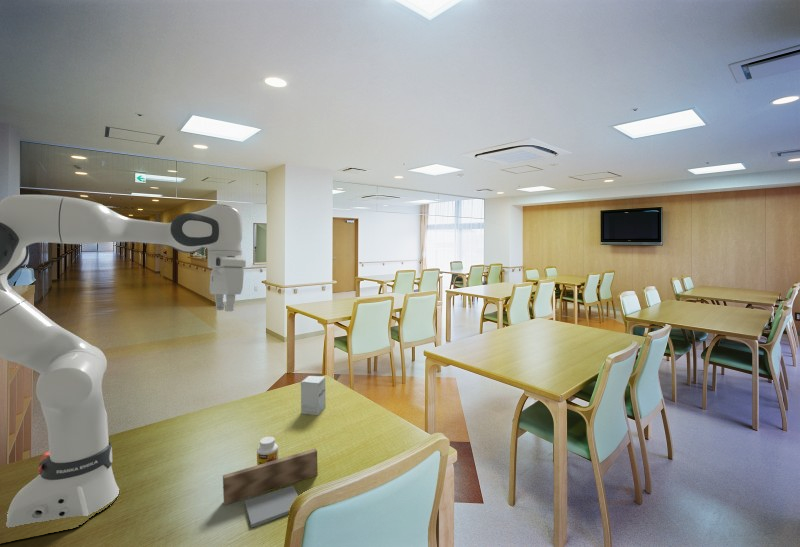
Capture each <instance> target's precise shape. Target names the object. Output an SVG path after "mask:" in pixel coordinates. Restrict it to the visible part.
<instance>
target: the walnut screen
mask: <svg viewBox="0 0 800 547" xmlns="http://www.w3.org/2000/svg"><path fill="white" fill-rule="evenodd" d="M318 468H319V467H318V450H317V449H316V448H312V449H308V450H306V451H302V452H299V453H296V454H292V455H289V456H285V457H282V458H278V459H277V460H274V461H271V462H267V463H264V464H260V465H254V466H250V467H247V468H244V469H243V468H242V469H240V470H236V471H233V472H230V473H227V474H223V475H222V490H223V505H224V506H227V505H229V504H232V503H235V502H239V501H241V500H244V499H247V498H251V497H254V496H256V495H260V494H263V493H266V492H268V491H273V490H275V489H278V488H281V487H284V486H287V485H291V484H294V483H297V482H299V481H302V480H305V479H309V478H312V477H314V476H318V472H319V471H318Z"/></svg>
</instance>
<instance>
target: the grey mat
mask: <svg viewBox="0 0 800 547" xmlns="http://www.w3.org/2000/svg"><path fill="white" fill-rule="evenodd" d="M297 496H299V494H298V493H297V490H296V489H295V486H294V485H290V486H286V487H284V488H281V489H278V490H275V491H272V492H271V491H270V492H269V493H265V494H262V495H258V496H257V497H253V498H250V499H247V500H245V501H244V505H245V509H246V513H247V516H248V520H249V523H250V528H255V527H257V526H259V525H262V524H265V523H268V522H270V521H273V520H276V519H279V518H282V517H284V516H286V515H289V514H288V513H289V509H290V506H291V504H292V502H293V501H294V499H295V498H296V497H297Z"/></svg>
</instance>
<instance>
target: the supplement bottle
mask: <svg viewBox="0 0 800 547" xmlns="http://www.w3.org/2000/svg"><path fill="white" fill-rule="evenodd" d="M275 441H276V439H275V437H273V436H264V437H263V438H260V440H259V445H258V447H257V449H256V464H257V465H260V464H264V463H267V462H271V461H274V460H277V459H279V447H278V444H277V443H276V442H275ZM257 465H256V466H257Z"/></svg>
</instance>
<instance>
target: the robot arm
mask: <svg viewBox="0 0 800 547" xmlns="http://www.w3.org/2000/svg"><path fill="white" fill-rule="evenodd" d="M242 240H243V221H242V216H241V213H240V212H239V210H237V209H236V208H235V207H233V206H230V205H227V204H219V203H215V204H212V205H211V206H208V207H207V208H204V209H201V210H198V211H197V210H196V211H194V212H187V213H184V212H183V213H181V214H179V215H177V216H175V218H174V219H173V220H172V221H171V222H160V221H151V220H145V219H135V218H130V217H127V216H124V215H122V214H121V213H120V214H119V213H118V212H117V211H114V210H112V209H110V207H107V206H106V205H103V204H102V203H98V202H95V201H93V200H92V201H91V200H87V199H83V198H77V197H71V196H63V195H62V196H61V195H50V194H13V195H9V196H6V197H4V198H3V199H1V201H0V358H1V359H3V360H5V361H7V362H12V363H16V364H19V365H21V366H24V367H26V368H28V369H30V370H33V371H35V372H36V373H39V376H38V378H37V382H36V386H35V394H36V397H37V400H38V402H39V404H40V408H41V411H42V415H43V417H44V421H45V424H46V429H47V430H46V431H47V437H48V438H47V439H48V451H46V452H44V453H43V454H42V457H41V458H40V461H39V463H38V468H37V474H38V475H37V476H36V477H35V478H33V479H32V480H31V481H29V482H28V483H27V484H25V486H23V487H22V488H20V490H19V491H18V492H17V493H16V494H15V496H14V497H13V499H12V500H11V503H10V504H9V506H8V511H7V513H8V514H7V522H6V526H7V527H8V528H9V527H15V526H19V525H24V524H30V523H35V522H42V521H43V522H44V521H49V520H55V519H60V518H66V517H75V516H88V515H90V514H92V513H93V512H96V511H98V510H99V509H101V508H103V507H104V506H106V505H107V504H109V503H110V502H112V501H113V500H114V499H115V498H116V497H117V496H118V494H119V490H120V488H119V486H118V484H117V481H116V479H115V476H114V472H113V467H112V464H113V447H112V443H111V441H110V439H109V426H108V413H107V410H106V407H105V401H104V396H103V389H102V385H103V378H104V374H105V372H106V371H107V367H108V360H107V358H106V355H105V354H104V352H103V351H102V350H101V349H100V348H98V347H97V346H94V345H93V344H90V343H89V342H87V341H86V340H84V339H82V338H81V337H80V336H77V335H76V334H74V333H72V332H71V331H69V330H67V329H66V328H63V327H62V326H60V325H59V324H58V323H56V322H55V321H54V320H52V319H50V317H48V316H47V315H45V314H44V313H43V312H42V311H40V310H39V309H38V308H37V307H35V306H34V305H33V304H32V303H30V301H28V300H27V299H25V298H24V297H23V296H21V295H20V294H19V293H18V292H16V291H15V290H14V289H13V288H12V287H11V286H10V285H9V283H8V281H9V280H11V279H12V278H13V277H14V275H15V274H16V273H17V272H18V270H20V268H22V267H23V265H24V264H25V262H27V259H28V257H29V254H30V252H29V250H30V249H29V246H30V245H33V244H37V243H53V244H65V245H67V244H68V245H93V244H105V243H106V244H109V243H123V242H125V243H127V242H128V243H138V244H140V243H141V244H150V245H161V246H167V247H169V248H171V249H174V250H176V251H179V252H181V253H182V254H183V253H184V254H194V253H197V252H200V251H202V250H203V249H204V248H207V268H208V269H211V272H210V276H209V278H210V279H209V294H210V295H214V301H215V310H216V311H225V312H233V311H234V305H235V301H236V295H241V294H242V292H243V288H244V287H243V286H244V275H245V274H244V273H245V272H244V268H246V266H247V265H246V263H247V261H246V259H245V258H244V257H243V249H242V244H241V243H242ZM224 295H225V296H224ZM224 297H225V299H226V300H225V304H224Z"/></svg>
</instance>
